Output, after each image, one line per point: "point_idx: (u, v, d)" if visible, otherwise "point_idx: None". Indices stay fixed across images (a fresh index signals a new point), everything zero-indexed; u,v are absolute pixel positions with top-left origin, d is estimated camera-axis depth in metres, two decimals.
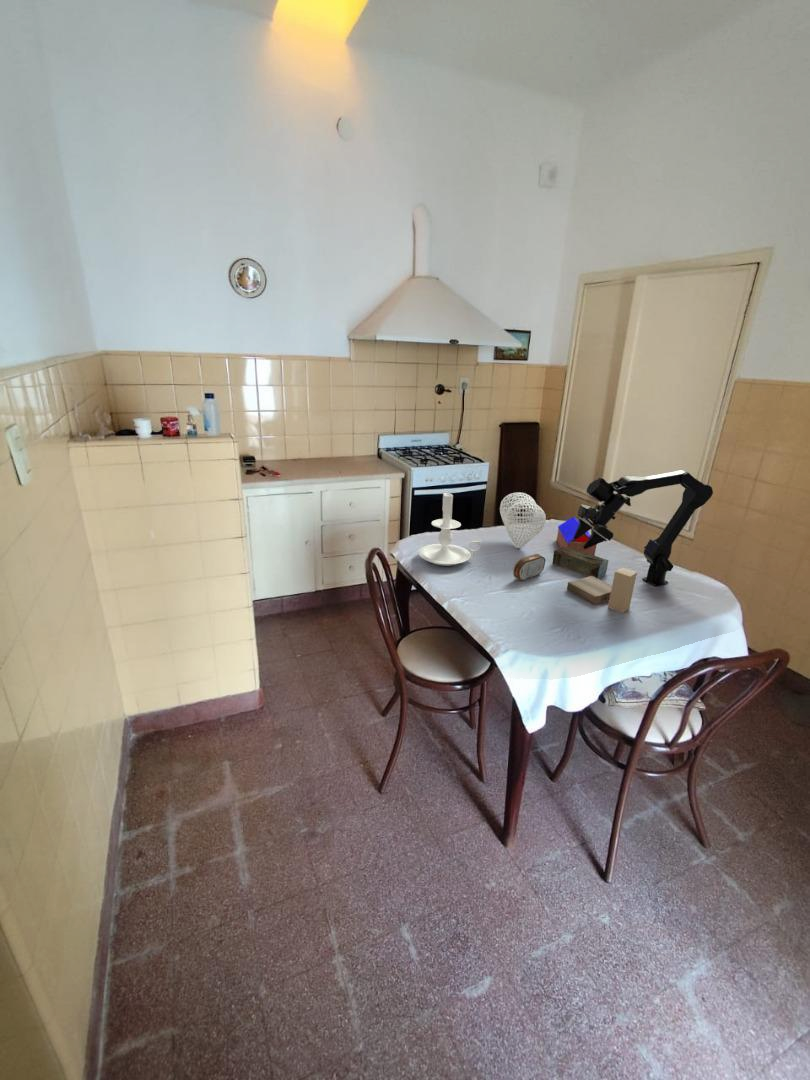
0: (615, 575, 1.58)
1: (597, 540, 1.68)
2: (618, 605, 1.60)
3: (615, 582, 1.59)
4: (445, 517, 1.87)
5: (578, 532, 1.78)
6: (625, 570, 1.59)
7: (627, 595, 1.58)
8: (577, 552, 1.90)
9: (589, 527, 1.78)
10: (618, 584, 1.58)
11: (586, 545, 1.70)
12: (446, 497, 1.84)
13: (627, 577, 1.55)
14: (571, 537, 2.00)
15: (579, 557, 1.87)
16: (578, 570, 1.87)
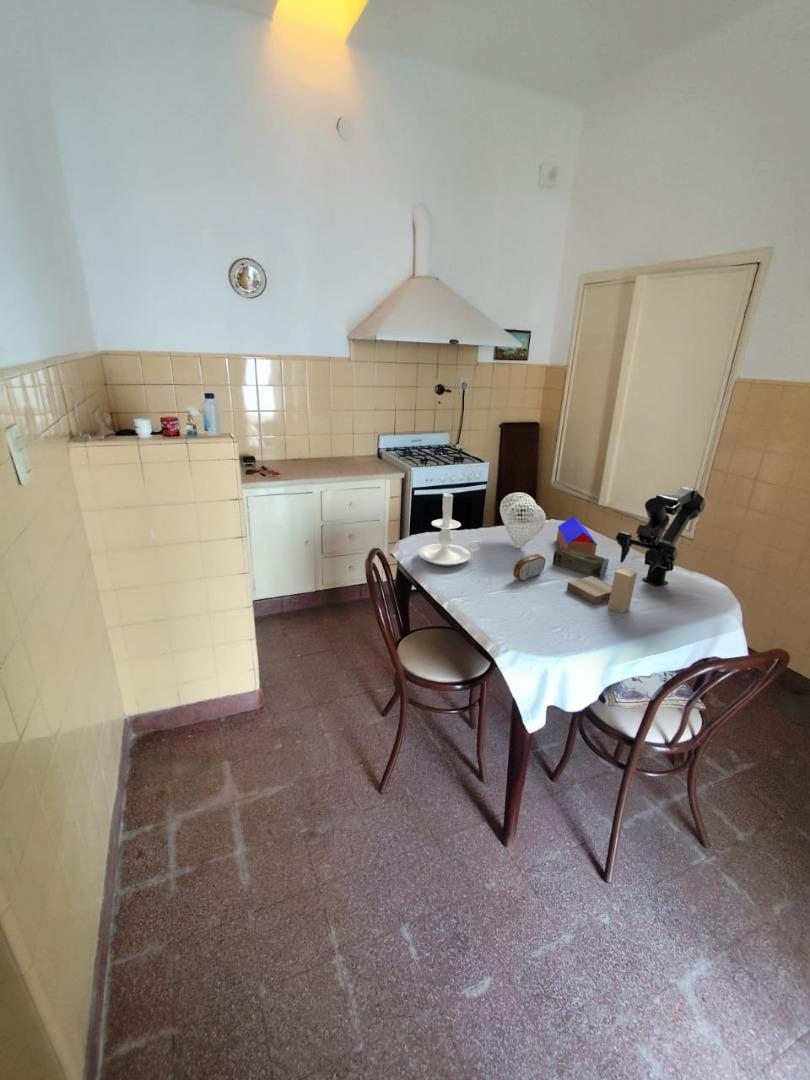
0: (615, 575, 1.58)
1: (660, 561, 1.60)
2: (618, 605, 1.60)
3: (615, 582, 1.59)
4: (445, 517, 1.87)
5: (624, 555, 1.65)
6: (625, 570, 1.59)
7: (627, 595, 1.58)
8: (577, 552, 1.90)
9: (629, 549, 1.68)
10: (618, 584, 1.58)
11: (652, 567, 1.59)
12: (446, 497, 1.84)
13: (627, 577, 1.55)
14: (572, 537, 2.00)
15: (580, 557, 1.87)
16: (579, 570, 1.87)
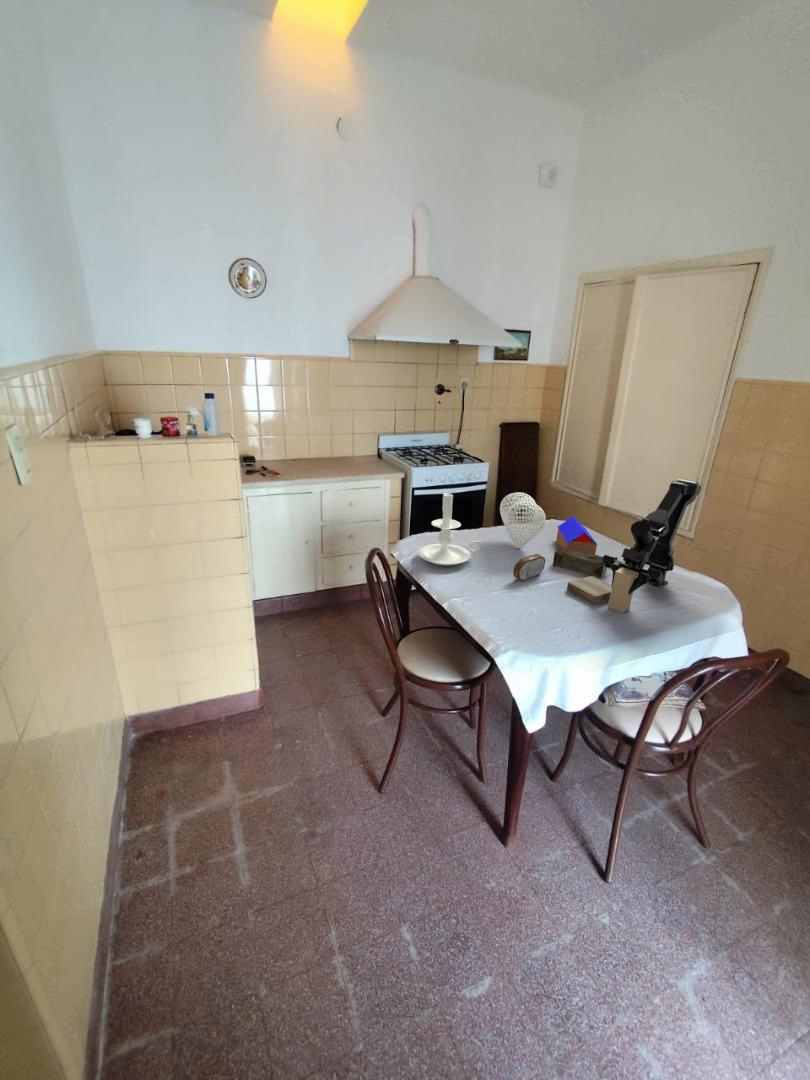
0: (615, 575, 1.58)
1: (640, 583, 1.58)
2: (618, 605, 1.60)
3: (615, 582, 1.59)
4: (445, 517, 1.87)
5: None
6: (625, 570, 1.59)
7: (627, 595, 1.58)
8: (577, 552, 1.91)
9: None
10: (618, 584, 1.58)
11: (632, 590, 1.57)
12: (446, 497, 1.84)
13: (627, 577, 1.55)
14: (572, 537, 2.00)
15: (581, 557, 1.87)
16: (581, 570, 1.87)
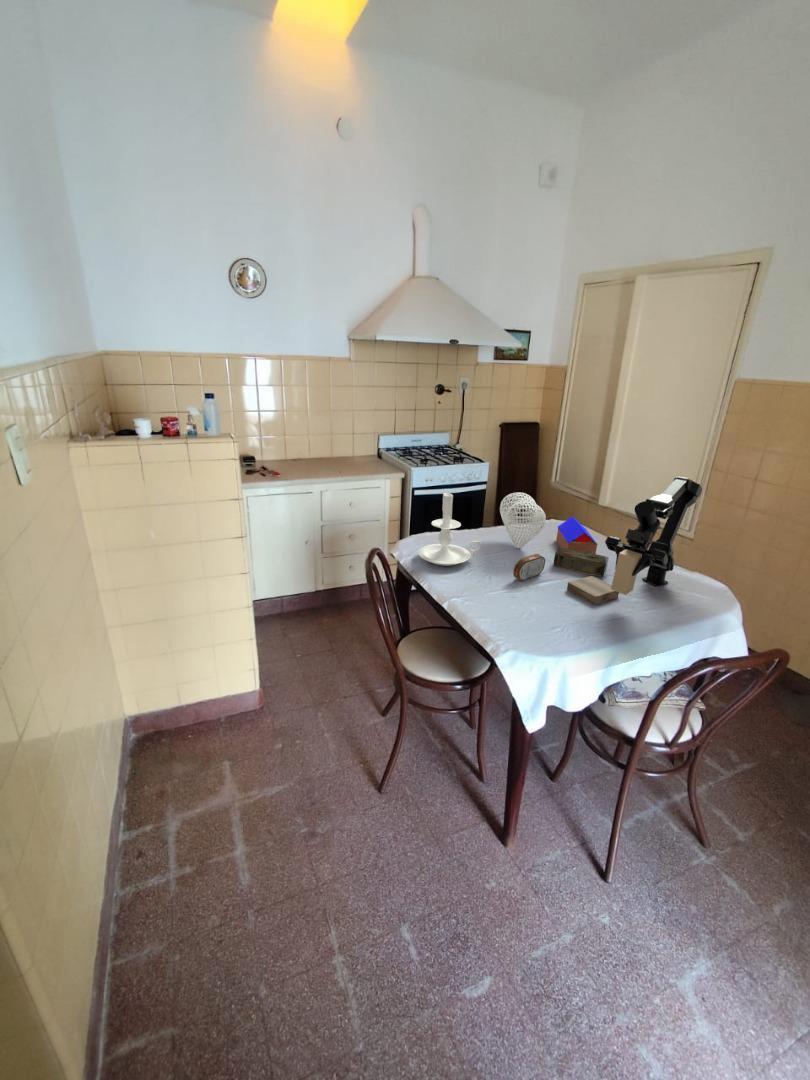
0: (619, 557, 1.56)
1: (644, 565, 1.56)
2: (621, 587, 1.58)
3: (618, 564, 1.56)
4: (445, 517, 1.87)
5: None
6: (629, 551, 1.56)
7: (631, 577, 1.55)
8: (577, 552, 1.91)
9: None
10: (622, 566, 1.56)
11: (636, 571, 1.55)
12: (446, 497, 1.84)
13: (631, 559, 1.53)
14: (572, 537, 2.00)
15: (582, 557, 1.87)
16: (582, 570, 1.87)
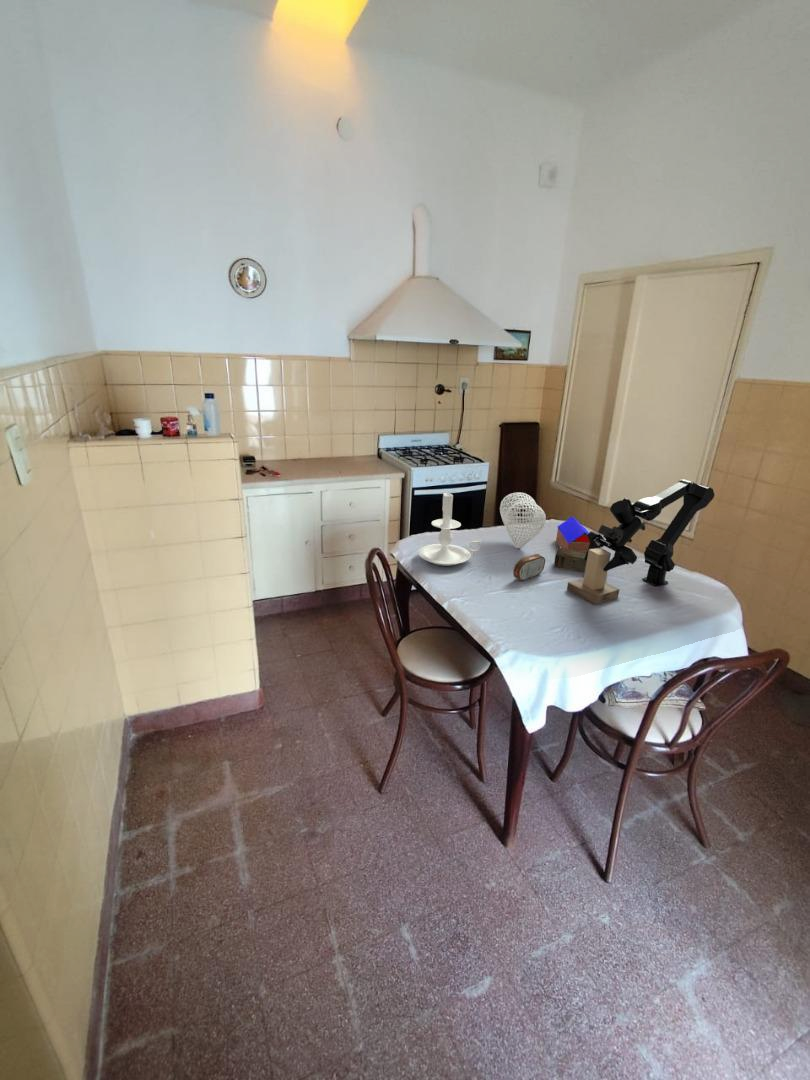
0: (589, 553, 1.67)
1: (618, 563, 1.62)
2: (589, 582, 1.68)
3: (588, 559, 1.68)
4: (445, 517, 1.87)
5: None
6: (600, 550, 1.67)
7: (597, 573, 1.65)
8: (577, 552, 1.91)
9: None
10: (590, 562, 1.67)
11: (607, 567, 1.62)
12: (446, 497, 1.84)
13: (596, 555, 1.63)
14: (573, 537, 2.00)
15: (583, 557, 1.87)
16: (584, 570, 1.87)
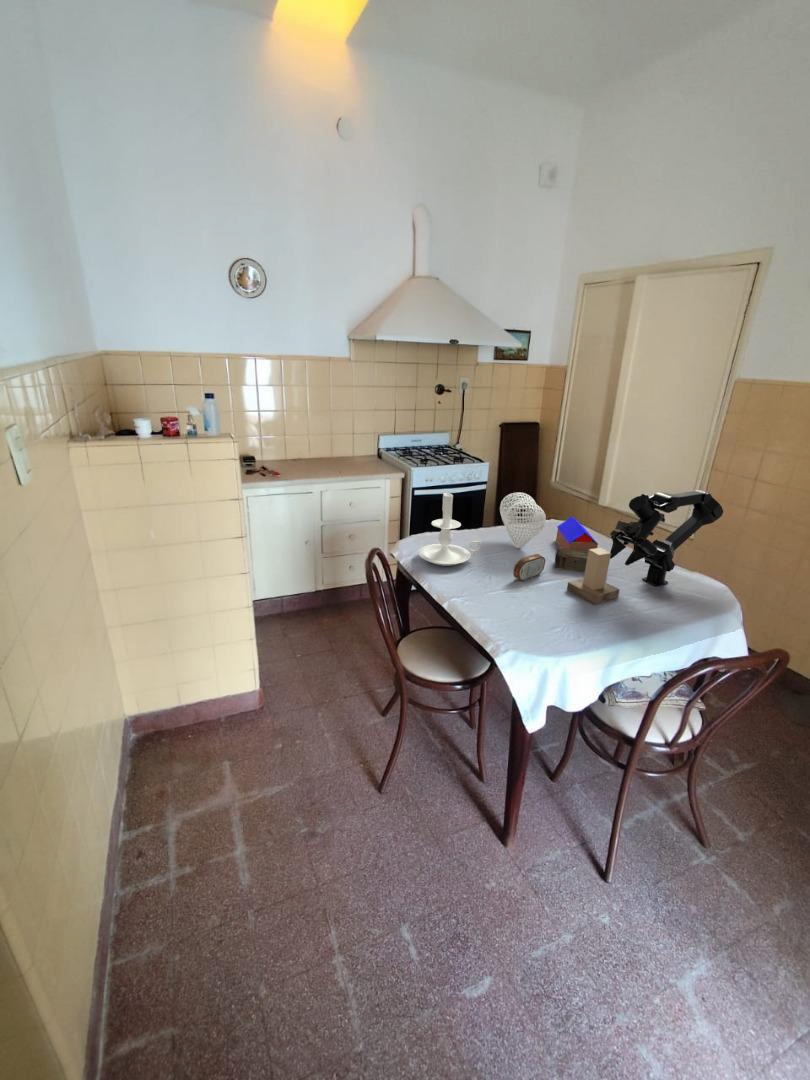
0: (589, 553, 1.67)
1: (639, 555, 1.64)
2: (589, 582, 1.68)
3: (588, 559, 1.68)
4: (445, 517, 1.87)
5: (613, 551, 1.74)
6: (600, 550, 1.67)
7: (597, 573, 1.65)
8: (576, 552, 1.91)
9: (623, 546, 1.75)
10: (590, 562, 1.67)
11: (628, 561, 1.65)
12: (446, 497, 1.84)
13: (596, 555, 1.63)
14: (573, 537, 2.00)
15: (584, 557, 1.87)
16: None
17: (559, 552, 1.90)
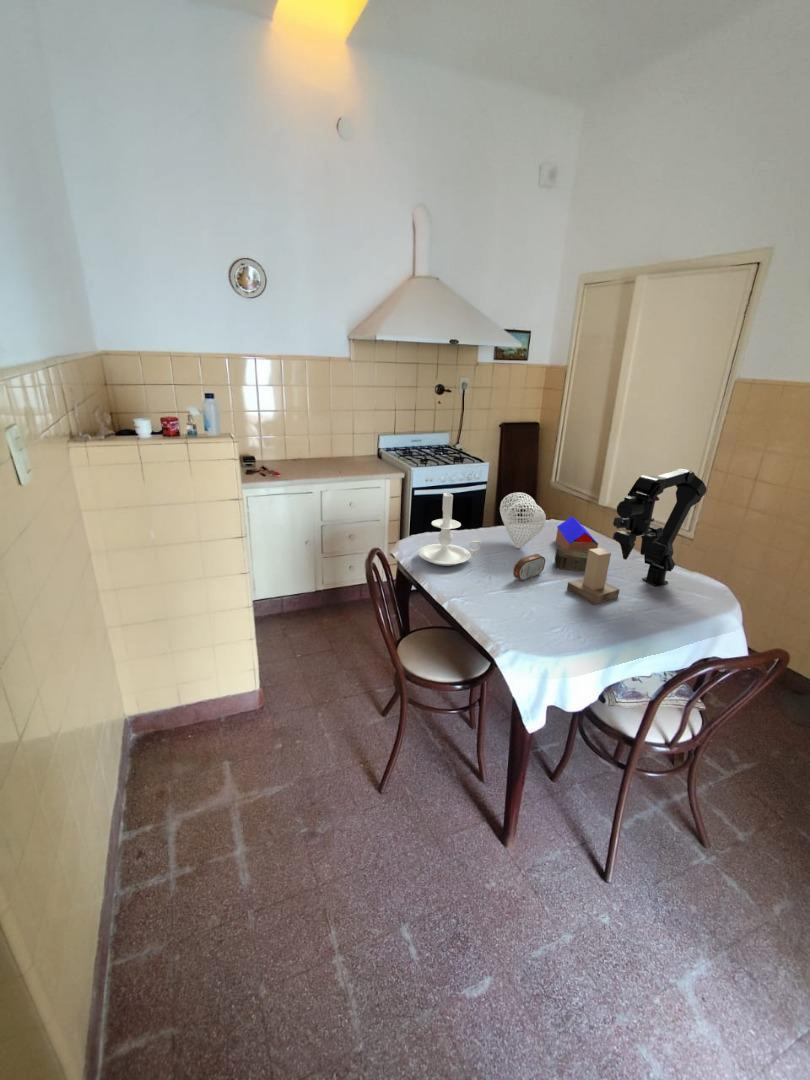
0: (589, 553, 1.67)
1: (627, 547, 1.64)
2: (589, 582, 1.68)
3: (588, 559, 1.68)
4: (445, 517, 1.87)
5: (642, 547, 1.71)
6: (600, 550, 1.67)
7: (597, 573, 1.65)
8: (576, 552, 1.91)
9: (651, 539, 1.68)
10: (590, 562, 1.67)
11: (623, 555, 1.67)
12: (446, 497, 1.84)
13: (596, 555, 1.63)
14: (573, 537, 1.99)
15: (584, 556, 1.87)
16: None
17: (559, 552, 1.90)
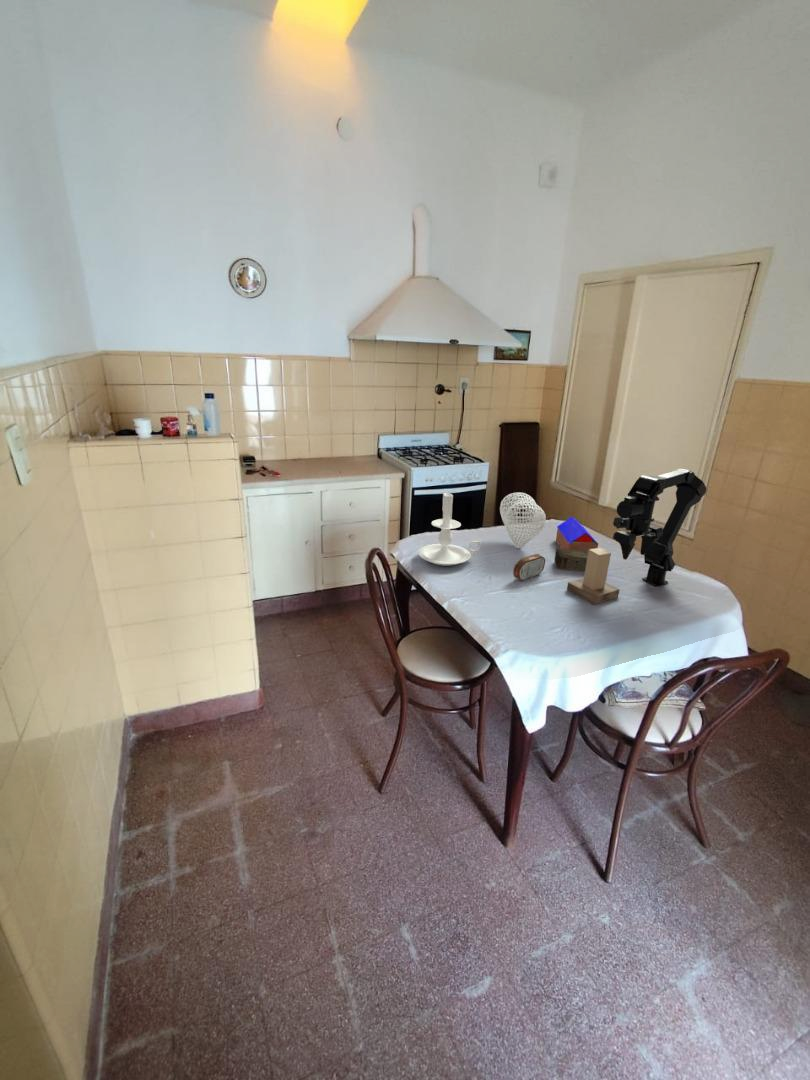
0: (589, 553, 1.67)
1: (627, 547, 1.64)
2: (589, 582, 1.68)
3: (588, 559, 1.68)
4: (445, 517, 1.87)
5: (642, 547, 1.71)
6: (600, 550, 1.67)
7: (597, 573, 1.65)
8: (576, 552, 1.91)
9: (651, 539, 1.68)
10: (590, 562, 1.67)
11: (623, 555, 1.67)
12: (446, 497, 1.84)
13: (596, 555, 1.63)
14: (573, 537, 1.99)
15: (585, 556, 1.87)
16: None
17: (560, 553, 1.89)
